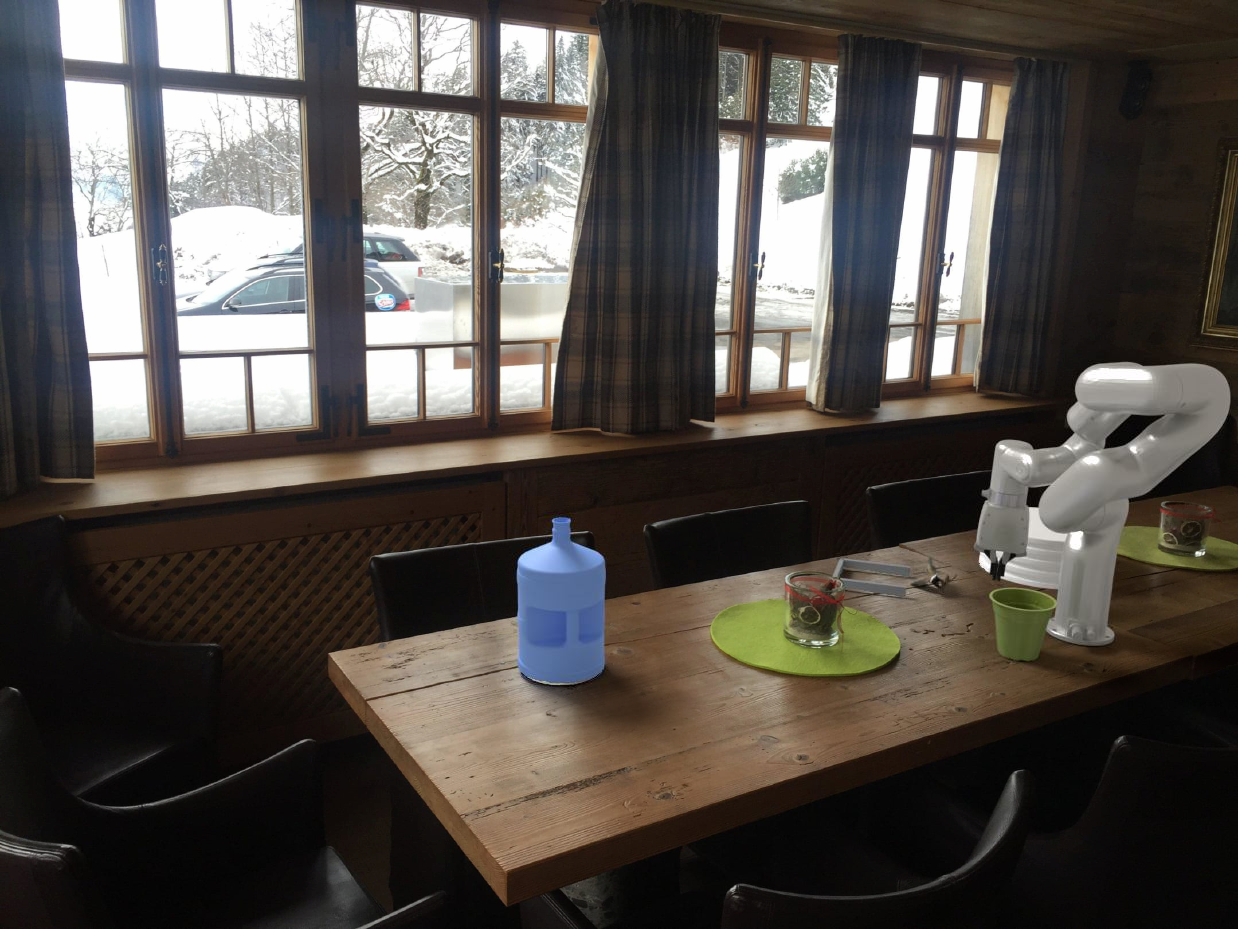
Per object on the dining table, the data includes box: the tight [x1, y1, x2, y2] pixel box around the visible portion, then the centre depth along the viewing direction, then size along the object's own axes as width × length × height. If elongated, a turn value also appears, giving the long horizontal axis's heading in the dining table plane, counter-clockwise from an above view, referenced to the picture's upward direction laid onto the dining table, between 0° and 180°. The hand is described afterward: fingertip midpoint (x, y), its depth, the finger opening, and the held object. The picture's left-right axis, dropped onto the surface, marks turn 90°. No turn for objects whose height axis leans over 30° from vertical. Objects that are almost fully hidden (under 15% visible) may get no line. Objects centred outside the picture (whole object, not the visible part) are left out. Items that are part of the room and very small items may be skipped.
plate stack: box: [978, 506, 1067, 590], centre depth 237 cm, size 28×28×12 cm
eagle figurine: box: [910, 556, 958, 595], centre depth 223 cm, size 8×7×9 cm
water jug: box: [516, 517, 607, 683], centre depth 178 cm, size 16×16×28 cm
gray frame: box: [831, 557, 912, 598], centre depth 227 cm, size 15×16×2 cm
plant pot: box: [989, 587, 1058, 662], centre depth 188 cm, size 12×12×11 cm
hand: (996, 578), depth 218 cm, fingers closed
